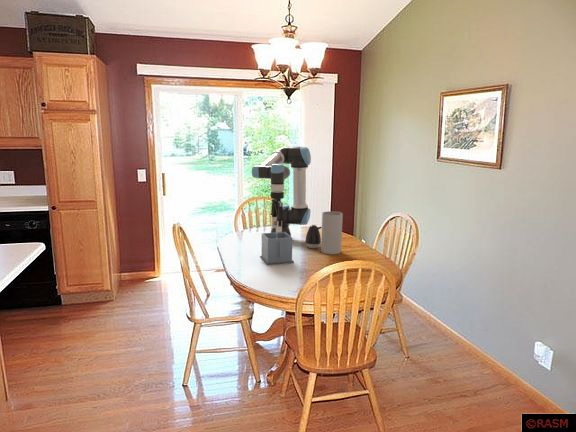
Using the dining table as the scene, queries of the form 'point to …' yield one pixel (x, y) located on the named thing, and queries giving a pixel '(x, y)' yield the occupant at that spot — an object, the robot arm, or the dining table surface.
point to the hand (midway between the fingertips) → (276, 229)
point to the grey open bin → (276, 248)
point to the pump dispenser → (313, 237)
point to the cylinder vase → (331, 232)
